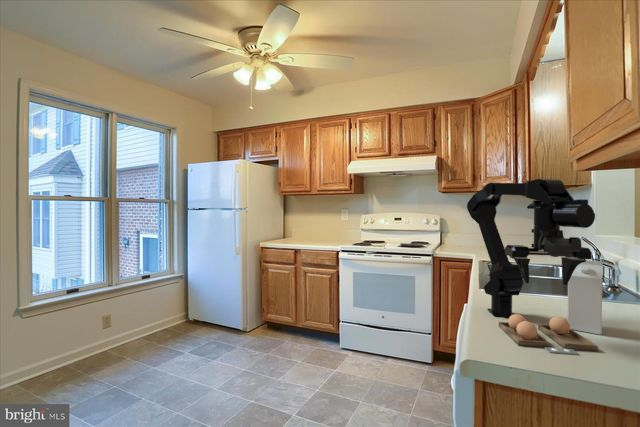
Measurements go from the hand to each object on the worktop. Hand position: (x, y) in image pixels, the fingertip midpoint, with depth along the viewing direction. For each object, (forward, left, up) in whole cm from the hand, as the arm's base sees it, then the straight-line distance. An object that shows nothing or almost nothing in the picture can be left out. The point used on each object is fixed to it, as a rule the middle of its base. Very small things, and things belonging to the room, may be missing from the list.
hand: (545, 283), depth 86 cm
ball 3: (+2, +2, -10) cm, 11 cm away
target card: (+13, -3, -13) cm, 18 cm away
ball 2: (+7, -8, -10) cm, 15 cm away
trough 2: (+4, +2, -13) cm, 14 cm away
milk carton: (-5, +12, -13) cm, 19 cm away
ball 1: (+2, -8, -10) cm, 13 cm away
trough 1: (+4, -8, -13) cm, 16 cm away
